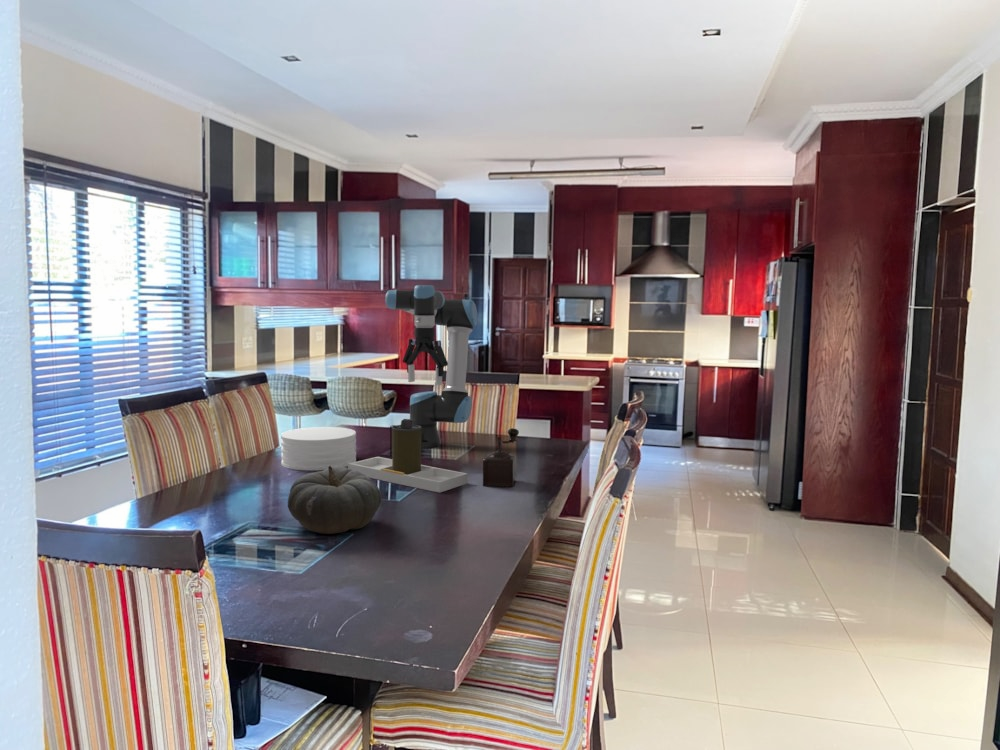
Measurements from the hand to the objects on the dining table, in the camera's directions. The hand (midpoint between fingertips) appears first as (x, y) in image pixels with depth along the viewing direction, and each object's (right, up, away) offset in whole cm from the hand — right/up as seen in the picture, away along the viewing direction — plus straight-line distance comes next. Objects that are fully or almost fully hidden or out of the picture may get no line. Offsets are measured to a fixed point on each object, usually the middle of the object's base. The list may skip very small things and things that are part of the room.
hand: (425, 383), depth 262 cm
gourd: (-17, -39, -69) cm, 81 cm away
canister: (-5, -33, -16) cm, 36 cm away
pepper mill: (+29, -34, -18) cm, 48 cm away
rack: (-5, -33, -15) cm, 37 cm away
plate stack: (-42, -31, +8) cm, 53 cm away
